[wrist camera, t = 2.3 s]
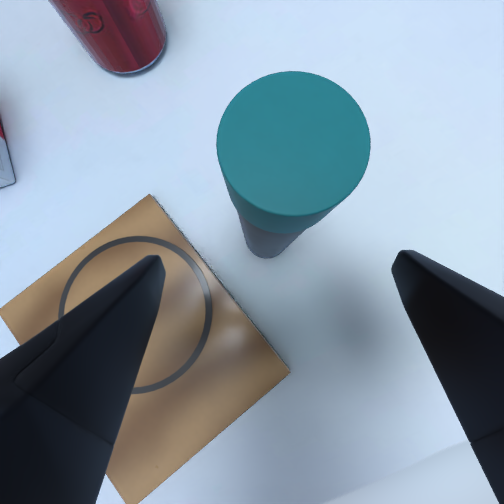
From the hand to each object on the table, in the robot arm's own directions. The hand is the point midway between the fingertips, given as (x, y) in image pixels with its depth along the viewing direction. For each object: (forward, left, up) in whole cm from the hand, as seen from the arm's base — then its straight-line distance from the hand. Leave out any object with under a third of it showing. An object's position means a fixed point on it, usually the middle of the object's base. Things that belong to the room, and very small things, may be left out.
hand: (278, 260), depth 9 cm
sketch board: (+2, +11, -10) cm, 15 cm away
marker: (+2, -2, -10) cm, 10 cm away
